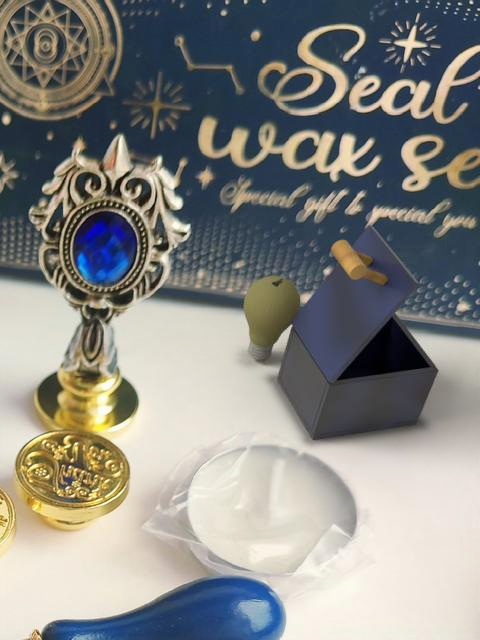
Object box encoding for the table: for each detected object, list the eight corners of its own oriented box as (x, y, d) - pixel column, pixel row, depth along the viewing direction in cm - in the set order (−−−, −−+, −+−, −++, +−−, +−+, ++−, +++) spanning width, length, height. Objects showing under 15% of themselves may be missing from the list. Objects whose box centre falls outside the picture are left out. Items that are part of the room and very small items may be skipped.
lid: (373, 226, 101) (335, 210, 98) (420, 284, 94) (380, 268, 92) (294, 324, 108) (256, 311, 105) (333, 383, 102) (294, 371, 99)
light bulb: (277, 381, 113) (298, 303, 105) (225, 366, 114) (243, 288, 107) (290, 350, 116) (312, 273, 109) (239, 336, 118) (258, 259, 110)
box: (375, 366, 114) (395, 312, 109) (416, 424, 108) (439, 370, 103) (276, 380, 113) (291, 326, 108) (312, 439, 107) (330, 385, 102)
